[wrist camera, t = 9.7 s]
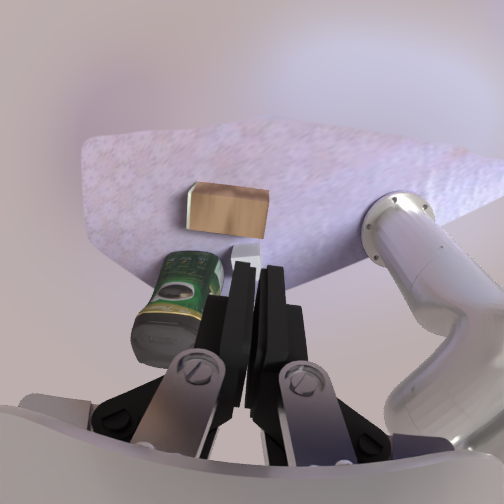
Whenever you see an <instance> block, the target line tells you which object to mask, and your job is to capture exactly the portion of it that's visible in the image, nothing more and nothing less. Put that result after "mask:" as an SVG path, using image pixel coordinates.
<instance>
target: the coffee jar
mask: <svg viewBox="0 0 504 504" xmlns="http://www.w3.org/2000/svg"><path fill="white" fill-rule="evenodd" d="M223 283H224V270H223V265H222V262H221V260H220V259H219V258H218V257H217V256H216V255H214V254H212V253H208V252H200V251H181V252H174V253H171V254H170V255H168V256H167V257H166V259H165V261H164V263H163V266H162V268H161V271H160V275H159V278H158V281H157V284H156V287H155V289H154V292H153V295H152V297H151V299H150V301H149V303H148V304H147V305H146V307H145V308H144V309H143V310H142V311H140V312H139V314H138V315H137V317H136V318H135V322H134V325H133V328H132V332H131V345H132V348H133V351H134V353H135V356H136V358H137V360H138V361H139V362H140V363H144V364H146V365H149V366H152V367H157V368H164V369H168V368H169V366H170V364H171V362H172V361H173V359H174V358H175V357H176V356H177V355H178V354H179V353H181V352H183V351H185V350H189V349H193V348H194V344H195V340H196V337H197V333H198V329H199V325H200V322H201V318H202V314H203V311H204V307H205V303H206V300H207V296H208V294H212V295H219V296H220V293H221V291H222V287H223Z"/></svg>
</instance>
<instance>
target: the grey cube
mask: <svg viewBox="0 0 504 504" xmlns="http://www.w3.org/2000/svg"><path fill="white" fill-rule="evenodd" d="M235 261H242V262H250V263H251V265H250V267H256V280H259V277H260V271H261V268H263V258H262V251H261V243H260V242H259V243H249V244H239V245H233V250H232V254H231V262H232V268H233V270H234V265H235ZM256 280H255V281H256Z"/></svg>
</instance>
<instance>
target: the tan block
mask: <svg viewBox="0 0 504 504" xmlns="http://www.w3.org/2000/svg"><path fill="white" fill-rule="evenodd" d="M268 207H269V190H262V189H255V188H247V187H240V186H232V185H223V184H215V183H206V182H196V183H195V184H194V186H193V187H192V188H191V189H190V191H189V192H188V203H187V228H186V229H190V230H198V231H205V232H213V233H221V234H229V235H236V236H244V237H251V238H259V239H263V238H264V232H265V226H266V219H267V213H268Z"/></svg>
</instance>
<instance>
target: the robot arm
mask: <svg viewBox="0 0 504 504" xmlns="http://www.w3.org/2000/svg"><path fill="white" fill-rule="evenodd" d="M393 197H394V198H393ZM392 198H393V199H392ZM368 224H369V225H368ZM367 225H368V226H367ZM361 241H362V245H363V248H364V250H365V252H366V253H367V255H368V257H369V258H370V259H371V260H372V261H373V262H374V263H376V264H378V265H380V266H382V267H386V268H387V269H388V271H389V272H390V274H391V276H392V277H393V279H394V281H395V283H396V284H397V286H398V288H399V290H400V291H401V293H402V295H403V297H404V299H405V300H406V302H407V304H408V306H409V308H410V310H411V312H412V313H413V315H414V317H415V319H416V320H417V322H418V323H419V324H420V325H421V326H422V327H423V328H424V329H426V330H427V331H429V332H431V333H434V334H436V335H440V336H445V337H447V338H446V339H445V340H444V342H443V343H442V344H441V345H440V346H439V347H438V348H437V349H436V350H435V352H434V353H433V354H432V355H431V356H430V357H429V358H428V359H426V361H424V362H423V363H422V364H421V365H420V366H419V367H418V368H417V369H416V370H414V371H413V372H412V373H411V374H410V375H409V376H408V377H406V378H405V379H404V380H403V381H402V382H401V383H400V384H399V385H398V386H397V387H396V388H395V389H394V390H393V391H392V392H391V393H390V395H389V396H388V398H387V400H386V402H385V406H384V419H385V424H386V427H387V429H388V431H389V433H390V435H391V436H389V435H386V434H385V433H384V432H383V431H382V430H381V429H379V428H378V427H377V426H375V425H374V424H372V423H371V422H369V421H368V420H367V419H365V418H364V417H363V416H361V415H360V414H358V413H357V412H356V411H354V410H353V409H352V408H350V407H349V406H348V405H346V404H345V403H344V402H342V401H341V400H340V399H338V398H337V397H336V394H335V391H334V389H333V386H332V383H331V380H330V377H329V376H328V374H327V372H326V371H325V370H324V369H323V368H322V367H320V366H319V365H317V364H315V363H312V362H309V361H308V355H307V346H306V338H305V331H304V323H303V314H302V308H301V306H298V305H289V304H286V297H285V283H284V270H283V267H280V266H272V265H267V269H264V268H261V271H260V277H259V283H258V288H257V294H256V300H255V306H254V295H255V280H256V267H250V265H251V263H250V262H242V261H235V265H234V270H233V276H232V281H231V287H230V292H229V297H226V296H219V295H212V294H208V296H207V300H206V303H205V307H204V311H203V314H202V318H201V322H200V325H199V329H198V333H197V337H196V340H195V344H194V348H193V349H189V350H185V351H183V352H181V353H179V354H178V355H177V356H176V357H175V358H174V359H173V361H172V362H171V364H170V366H169V368H168V370H167V372H166V374H165V375H164V376H161V377H159V378H157V379H155V380H153V381H151V382H148V383H146V384H144V385H142V386H139V387H137V388H135V389H133V390H130V391H128V392H126V393H123V394H121V395H119V396H116V397H114V398H112V399H109V400H107V401H105V402H103V403H101V404H100V405H95V404H92V403H91V401H85V400H77V399H69V398H62V397H55V396H49V395H43V394H30V395H27V396H25V397H24V398H23V399H22V400H21V401H20V403H19V405H18V407H15V406H8V405H0V504H504V289H503V288H502V287H501V286H500V285H499V284H498V283H496V282H495V281H494V280H493V279H492V278H491V277H490V276H489V275H488V274H487V273H486V272H485V271H484V270H483V269H482V268H481V267H480V266H479V265H478V264H477V263H476V262H475V261H474V260H473V258H472V257H470V255H469V254H468V253H466V251H465V250H464V249H463V248H462V247H461V246H460V245H458V243H456V241H455V240H454V239H453V238H451V236H450V235H449V234H447V233H446V232H445V231H444V230H443V229H442V228H441V227H440V226H439V225H438V224H437V223H436V222H435V216H434V213H433V210H432V208H431V207H430V205H429V204H428V202H427V201H426V200H425V199H423V198H422V197H421V196H419V195H417V194H416V193H413V192H409V191H396V192H392V193H389V194H387V195H385V196H383V197H382V198H380V199H379V200H378V201H377V202H375V203H374V204H373V205H372V207H371V208H370V209H369V211H368V212H367V214H366V216H365V218H364V221H363V224H362V229H361ZM253 309H254V312H253ZM247 365H248V368H247ZM246 370H247V381H246V394H245V408H249V409H251V410H250V417H251V418H253V421H254V422H255V423H256V424H257V425H258V426H259V427H260V428H261V439H262V447H263V453H264V460H265V466H262V465H249V464H248V465H247V464H238V463H228V462H220V461H213V460H209V458H210V455H211V452H212V449H213V446H214V443H215V440H216V437H217V434H218V431H219V426H220V425H222V424H223V423H225V422H227V421H228V420H230V419H231V418H232V413H233V408H234V407H240V402H241V397H242V391H243V386H244V381H245V376H246Z"/></svg>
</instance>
